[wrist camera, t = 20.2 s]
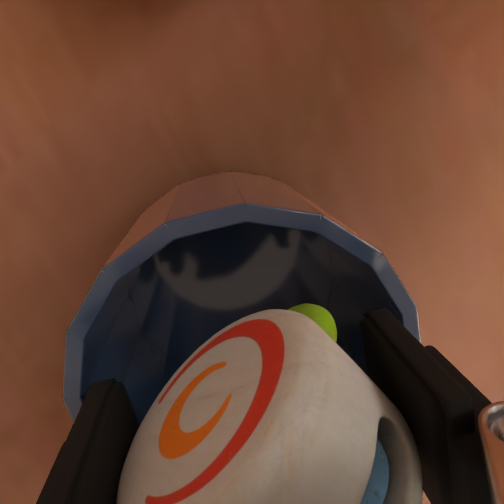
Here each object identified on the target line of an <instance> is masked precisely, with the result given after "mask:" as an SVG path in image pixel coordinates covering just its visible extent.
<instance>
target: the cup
mask: <svg viewBox="0 0 504 504" xmlns="http://www.w3.org/2000/svg"><path fill="white" fill-rule="evenodd" d="M305 303H308V304H314V305H319V306H321V307H323V308H325V309H326V310H328V311H329V313H330V314H331V315H332V317H333V319H334V321H335V325H336V329H337V341H336V343H337V344H338V345H339V346H340V348H341V349H342V350H343V351H344V352H345V353H346V354H347V355H348V356H349V357H350V358H351V359H352V360H353V361H354V362H355V363H356V364H357V365H358V366H359V367H360V368H361V369H362V370H363V371H364V373H365V374H366V375H367V376H368V373H367V366H366V360H365V354H364V347H363V341H362V335H361V328H360V320H361V319H364V318H365V314H366V313H367V312H371V311H375V310H379V309H383V308H386V309H387V310H388V311H389V312H390V313H391V314H392V315H393V316H394V317H395V318H396V319H397V320H398V321H399V322H400V323H401V324H402V325H403V326H404V327H405V328H406V329H407V330H408V331H409V332H410V333H411V334H412V335H413V336H414V337H415V338H416V339H417V340H418V341H419V342H420V343H421V341H420V331H419V322H418V313H417V308H416V304H415V303H414V301H413V300H412V298H411V296H410V295H409V293H408V292H407V290H406V288H405V287H404V285H403V284H402V282H401V280H400V279H399V277H398V276H397V274H396V272H395V271H394V269H393V268H392V266H391V265H390V263H389V261H388V260H387V258H386V257H385V255H384V254H383V253H382V252H381V251H380V250H379V249H377V248H376V247H375V246H373V245H372V244H370V243H369V242H368V241H366V240H365V239H363V238H362V237H361V236H359V235H358V234H357V233H355V232H354V231H352V230H351V229H350V228H348V227H347V226H345V225H344V224H343V223H341V222H340V221H338V220H337V219H336V218H334V217H333V216H331V215H330V214H329V213H327V212H326V211H325V210H323V209H322V208H320V207H319V206H318V205H316V204H315V203H313V202H312V201H310V200H309V199H307V198H306V197H304V196H302V195H301V194H299V193H298V192H296V191H295V190H293V189H292V188H290V187H288V186H287V185H285V184H284V183H282V182H280V181H279V180H277V179H275V178H268V177H265V176H260V175H256V174H252V173H242V172H231V171H230V172H223V173H215V174H210V175H205V176H201V177H198V178H195V179H192V180H189V181H186V182H183V183H181V184H179V185H178V186H177V187H175V188H173V189H172V190H170V191H169V192H167V193H166V194H164V195H163V196H162V197H161V198H159V199H158V200H157V201H156V202H155V203H154V204H152V205H151V206H150V207H148V208H147V209H146V210H144V212H143V213H142V214H141V215H140V217H139V218H138V220H137V221H136V222H135V224H134V225H133V226H132V228H131V229H130V231H129V232H128V233H127V235H126V236H125V237H124V239H123V240H122V242H121V243H120V244H119V246H118V247H117V248H116V250H115V251H114V253H113V254H112V255H111V257H110V258H109V259H108V261H107V262H106V264H105V265H104V266H103V268H102V269H101V270H100V272H99V274H98V276H97V277H96V279H95V281H94V283H93V285H92V286H91V288H90V290H89V292H88V293H87V295H86V297H85V299H84V301H83V302H82V304H81V306H80V308H79V310H78V311H77V313H76V315H75V317H74V318H73V320H72V322H71V324H70V326H69V327H68V329H67V333H66V340H65V360H64V381H63V398H64V402H65V405H66V407H67V409H68V411H69V414H70V416H71V418H72V420H73V423H74V422H75V419H76V417H77V415H78V413H79V410H80V408H81V406H82V404H83V401H84V399H85V397H86V395H87V392H88V390H89V388H90V386H91V384H92V383H95V382H99V381H103V380H107V379H111V378H114V379H115V380H116V381H117V382H120V381H121V382H123V384H124V386H125V388H126V391H127V393H128V396H129V399H130V401H131V404H132V406H133V409H134V412H135V414H136V417H137V419H138V422H139V425H141V423H142V421H143V419H144V418H145V416H146V414H147V412H148V411H149V409H150V407H151V406H152V404H153V403H154V401H155V399H156V398H157V396H158V395H159V393H160V392H161V391H162V389H163V388H164V386H165V385H166V384H167V382H168V381H169V380H170V379H171V377H172V376H173V375H174V374H175V372H176V371H177V370H178V369H179V368H180V367H181V365H182V364H183V363H184V362H185V361H186V360H187V359H188V358H189V357H190V356H191V355H192V354H193V353H194V352H195V351H196V350H197V349H198V348H199V347H200V346H201V345H203V344H204V343H205V342H206V341H207V340H208V339H210V338H211V337H212V336H213V335H215V334H216V333H217V332H219V331H220V330H222V329H223V328H225V327H226V326H228V325H230V324H232V323H233V322H235V321H237V320H239V319H241V318H243V317H246V316H248V315H251V314H254V313H257V312H260V311H264V310H269V309H283V310H288V309H290V308H292V307H294V306H297V305H300V304H305Z"/></svg>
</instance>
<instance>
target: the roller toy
mask: <svg viewBox="0 0 504 504" xmlns="http://www.w3.org/2000/svg"><path fill="white" fill-rule="evenodd" d="M336 341H337V329H336V325H335V321H334V319H333V317H332V315H331V314H330V313H329V311H328V310H326V309H325V308H323V307H321V306H319V305H314V304H308V303H305V304H300V305H297V306H294V307H292V308H290V309H288V310H283V309H269V310H264V311H260V312H257V313H254V314H251V315H248V316H246V317H243V318H241V319H239V320H237V321H235V322H233V323H232V324H230V325H228V326H226V327H225V328H223V329H222V330H220V331H219V332H217V333H216V334H215V335H213V336H212V337H211V338H210V339H208V340H207V341H206V342H205V343H204V344H203V345H201V346H200V347H199V348H198V349H197V350H196V351H195V352H194V353H193V354H192V355H191V356H190V357H189V358H188V359H187V360H186V361H185V362H184V363H183V364H182V365H181V367H180V368H179V369H178V370H177V371H176V372H175V374H174V375H173V376H172V377H171V379H170V380H169V381H168V382H167V384H166V385H165V386H164V388H163V389H162V391H161V392H160V393H159V395H158V396H157V398H156V399H155V401H154V403H153V404H152V406H151V407H150V409H149V411H148V412H147V414H146V416H145V418H144V419H143V421H142V423H141V425H140V427H139V428H138V430H137V432H136V434H135V437H134V439H133V441H132V443H131V446H130V449H129V451H128V454H127V457H126V459H125V462H124V465H123V469H122V472H121V476H120V481H119V486H118V493H117V501H116V504H422V493H423V481H422V470H421V464H420V457H419V453H418V449H417V445H416V442H415V440H414V437H413V434H412V432H411V430H410V428H409V426H408V424H407V422H406V420H405V419H404V417H403V416H402V414H401V413H400V411H399V410H398V409H397V407H396V406H395V405H394V404H393V403H392V402H391V401H390V399H389V398H388V397H387V396H386V395H385V394H384V393H383V392H382V391H381V390H380V389H379V388H378V387H377V386H376V384H375V383H374V382H373V381H372V380H371V379H370V378H369V377H368V376H367V375H366V374H365V373H364V371H363V370H362V369H361V368H360V367H359V366H358V365H357V364H356V363H355V362H354V361H353V360H352V359H351V358H350V357H349V356H348V355H347V354H346V353H345V352H344V351H343V350H342V349H341V348H340V346H339V345H338V344H337V343H336Z"/></svg>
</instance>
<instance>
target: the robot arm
mask: <svg viewBox="0 0 504 504" xmlns="http://www.w3.org/2000/svg"><path fill="white" fill-rule="evenodd" d="M360 328H361V335H362V341H363V347H364V354H365V360H366V366H367V373H368V377H369V378H370V379H371V380H372V381H373V382H374V383H375V384H376V386H377V387H378V388H379V389H380V390H381V391H382V392H383V393H384V394H385V395H386V396H387V397H388V398H389V399H390V401H391V402H392V403H393V404H394V405H395V406H396V407H397V409H398V410H399V411H400V413H401V414H402V416H403V417H404V419H405V420H406V422H407V424H408V426H409V428H410V430H411V432H412V434H413V437H414V440H415V442H416V445H417V449H418V453H419V457H420V464H421V470H422V481H423V490H424V492H425V494H426V496H427V497H428V499H429V501H430V502H431V504H504V401H499V402H496V403H491V402H490V401H489V400H488V399H487V398H486V397H485V396H484V395H483V394H482V393H481V392H480V391H479V390H478V389H477V388H476V387H475V386H474V385H473V384H472V383H471V382H470V381H469V380H468V379H467V378H466V377H465V376H463V375H462V374H461V373H460V372H459V371H458V370H457V369H456V368H455V367H454V366H453V365H452V364H451V363H450V362H449V361H448V360H447V359H446V358H445V357H444V356H443V355H442V354H441V353H440V352H439V351H438V350H437V349H436V348H434V347H433V346H425V347H424V346H423V345H422V344H421V343H420V342H419V341H418V340H417V339H416V338H415V337H414V336H413V335H412V334H411V333H410V332H409V331H408V330H407V329H406V328H405V327H404V326H403V325H402V324H401V323H400V322H399V321H398V320H397V319H396V318H395V317H394V316H393V315H392V314H391V313H390V312H389V311H388V310H387V309H386V308H383V309H379V310H375V311H371V312H367V313H366V314H365V318H364V319H361V320H360ZM139 427H140V425H139V422H138V419H137V417H136V414H135V412H134V409H133V406H132V404H131V401H130V399H129V396H128V393H127V391H126V388H125V386H124V384H123V382H121V381H120V382H117V381H116V380H115V379H114V378H111V379H107V380H103V381H99V382H95V383H92V384H91V386H90V388H89V390H88V392H87V395H86V397H85V399H84V401H83V404H82V406H81V408H80V410H79V413H78V415H77V417H76V419H75V422H74V424H73V426H72V428H71V431H70V433H69V435H68V437H67V440H66V442H64V444H63V445H62V447H61V449H60V451H59V453H58V456H57V458H56V460H55V462H54V465H53V467H52V469H51V471H50V474H49V476H48V478H47V480H46V482H45V485H44V487H43V489H42V491H41V494H40V496H39V498H38V500H37V503H36V504H116V501H117V493H118V486H119V481H120V476H121V472H122V469H123V465H124V462H125V459H126V457H127V454H128V451H129V449H130V446H131V443H132V441H133V439H134V437H135V434H136V432H137V430H138V428H139Z"/></svg>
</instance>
